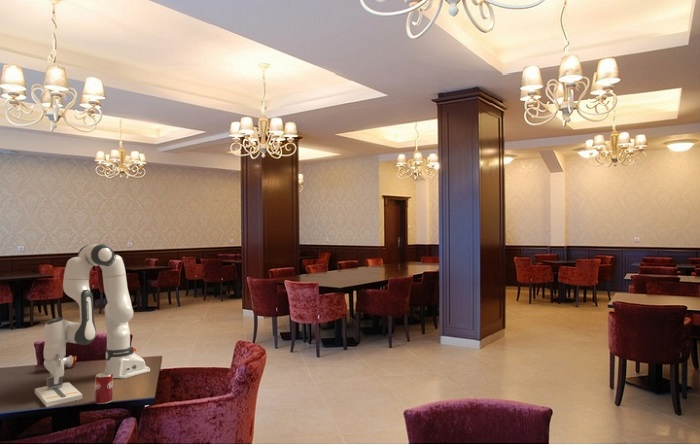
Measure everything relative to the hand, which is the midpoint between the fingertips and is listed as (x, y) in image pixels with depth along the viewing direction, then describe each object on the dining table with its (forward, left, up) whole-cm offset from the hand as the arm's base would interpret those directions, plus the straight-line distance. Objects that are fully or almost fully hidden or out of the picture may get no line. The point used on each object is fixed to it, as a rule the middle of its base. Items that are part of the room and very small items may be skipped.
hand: (54, 382), depth 224 cm
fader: (0, 0, -2) cm, 2 cm away
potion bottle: (-11, -41, -5) cm, 43 cm away
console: (0, +7, -5) cm, 8 cm away
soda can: (-13, +30, -5) cm, 33 cm away
